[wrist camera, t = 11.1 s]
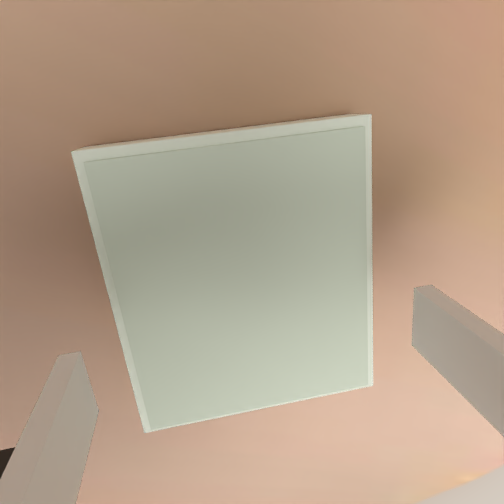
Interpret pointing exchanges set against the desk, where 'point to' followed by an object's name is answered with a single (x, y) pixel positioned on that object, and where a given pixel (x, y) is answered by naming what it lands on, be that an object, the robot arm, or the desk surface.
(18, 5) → the desk surface
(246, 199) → the tray
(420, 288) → the robot arm
